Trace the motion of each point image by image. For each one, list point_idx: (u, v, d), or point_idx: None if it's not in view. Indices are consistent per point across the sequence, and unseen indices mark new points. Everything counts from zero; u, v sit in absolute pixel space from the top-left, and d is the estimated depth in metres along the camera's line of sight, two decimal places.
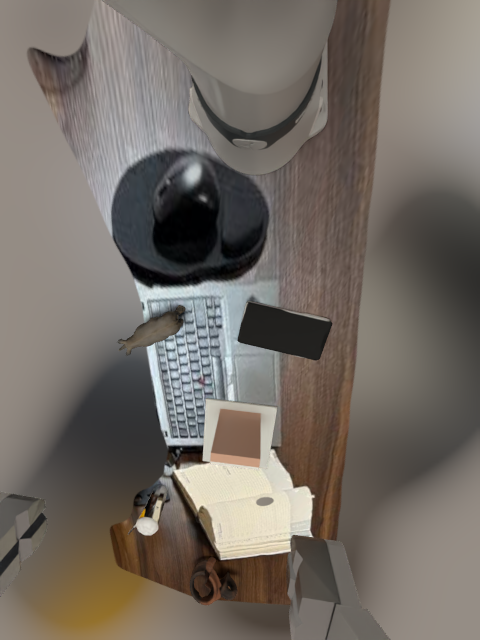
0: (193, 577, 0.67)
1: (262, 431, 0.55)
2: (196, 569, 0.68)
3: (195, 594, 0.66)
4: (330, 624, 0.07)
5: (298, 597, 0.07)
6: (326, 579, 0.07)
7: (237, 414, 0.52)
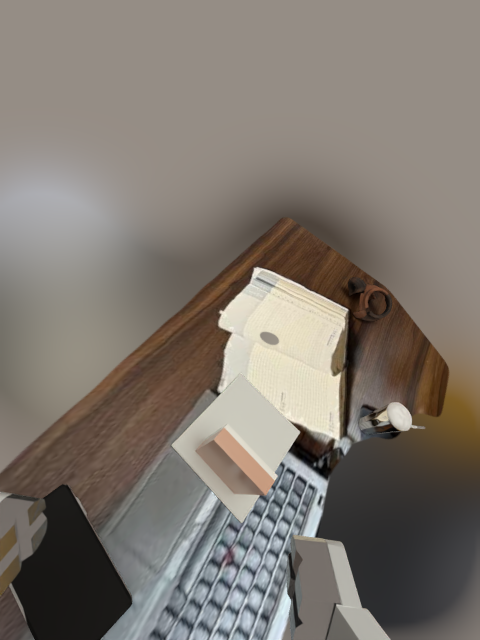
0: (382, 316, 0.63)
1: (211, 423, 0.42)
2: (375, 318, 0.64)
3: (388, 302, 0.64)
4: (330, 625, 0.07)
5: (298, 597, 0.07)
6: (326, 579, 0.07)
7: (218, 474, 0.37)
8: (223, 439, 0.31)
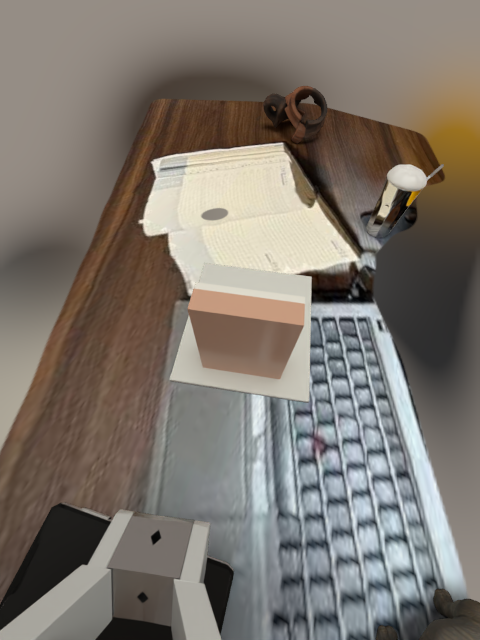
0: (322, 117, 0.50)
1: None
2: (318, 127, 0.51)
3: (319, 98, 0.50)
4: (173, 600, 0.07)
5: None
6: (175, 556, 0.07)
7: (246, 370, 0.27)
8: (201, 301, 0.19)
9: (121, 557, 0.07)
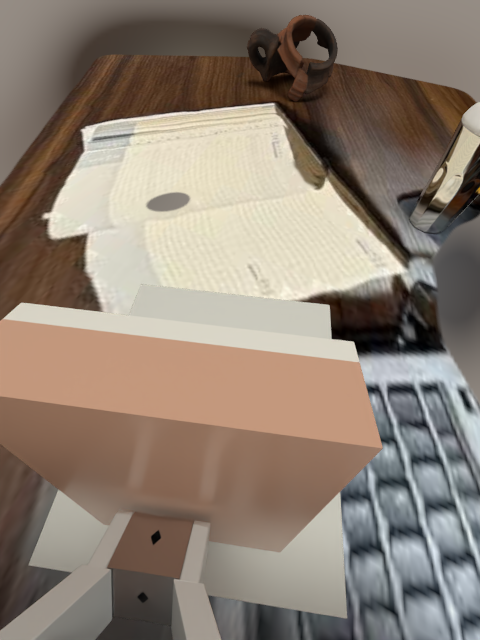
0: (331, 59, 0.35)
1: None
2: (325, 75, 0.36)
3: (325, 33, 0.35)
4: (173, 599, 0.07)
5: None
6: (176, 556, 0.07)
7: None
8: (3, 356, 0.05)
9: (121, 558, 0.07)
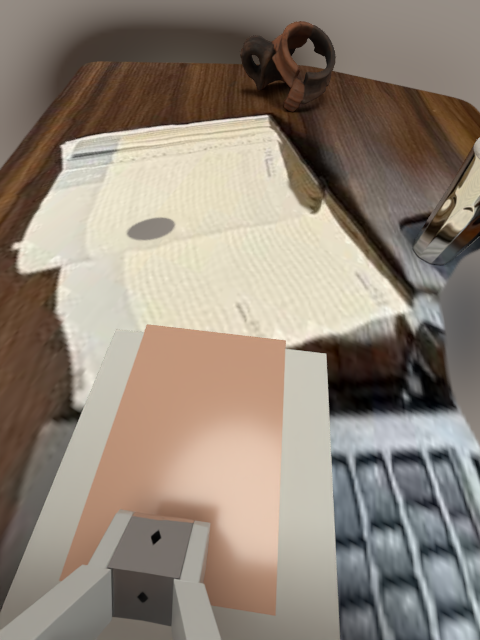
0: (329, 68, 0.33)
1: None
2: (322, 85, 0.34)
3: (323, 40, 0.33)
4: (173, 600, 0.07)
5: None
6: (176, 556, 0.07)
7: None
8: None
9: (121, 558, 0.07)
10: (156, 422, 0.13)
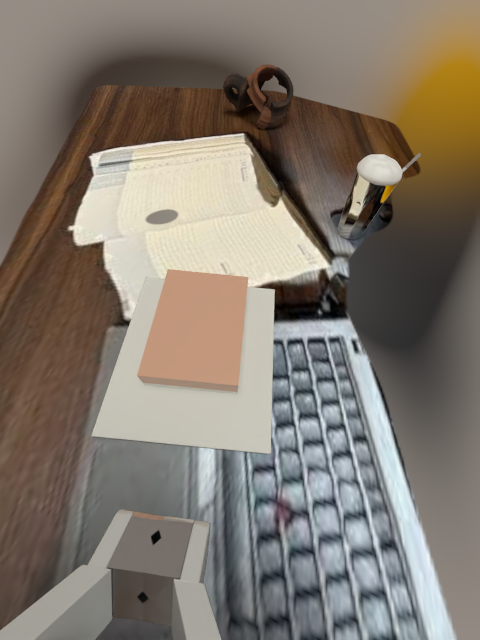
0: (288, 99, 0.45)
1: None
2: (284, 110, 0.46)
3: (283, 78, 0.45)
4: (173, 600, 0.07)
5: None
6: (176, 556, 0.07)
7: (196, 367, 0.22)
8: None
9: (121, 557, 0.07)
10: (177, 315, 0.24)
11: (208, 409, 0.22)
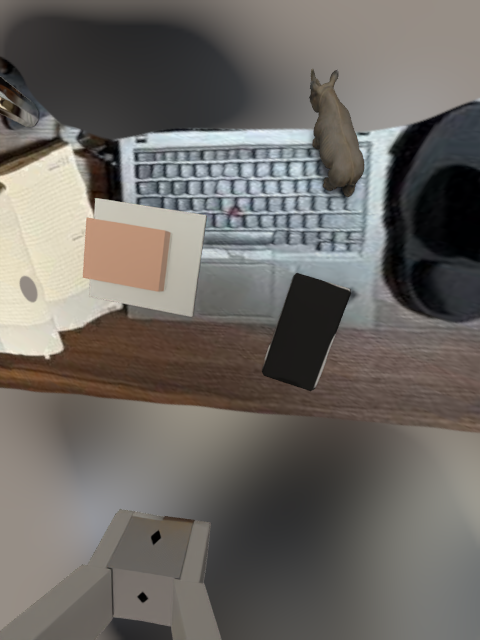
0: None
1: (152, 294, 0.39)
2: None
3: None
4: (173, 600, 0.07)
5: None
6: (176, 556, 0.07)
7: (154, 256, 0.36)
8: None
9: (121, 558, 0.07)
10: (119, 269, 0.36)
11: (180, 251, 0.37)
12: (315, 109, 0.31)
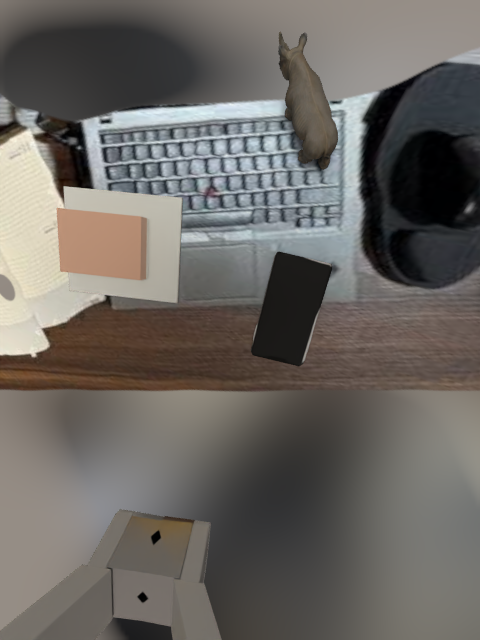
0: None
1: (135, 283, 0.38)
2: None
3: None
4: (173, 599, 0.07)
5: None
6: (176, 556, 0.07)
7: (132, 244, 0.35)
8: None
9: (122, 558, 0.07)
10: (97, 260, 0.36)
11: (159, 237, 0.37)
12: (285, 76, 0.29)
